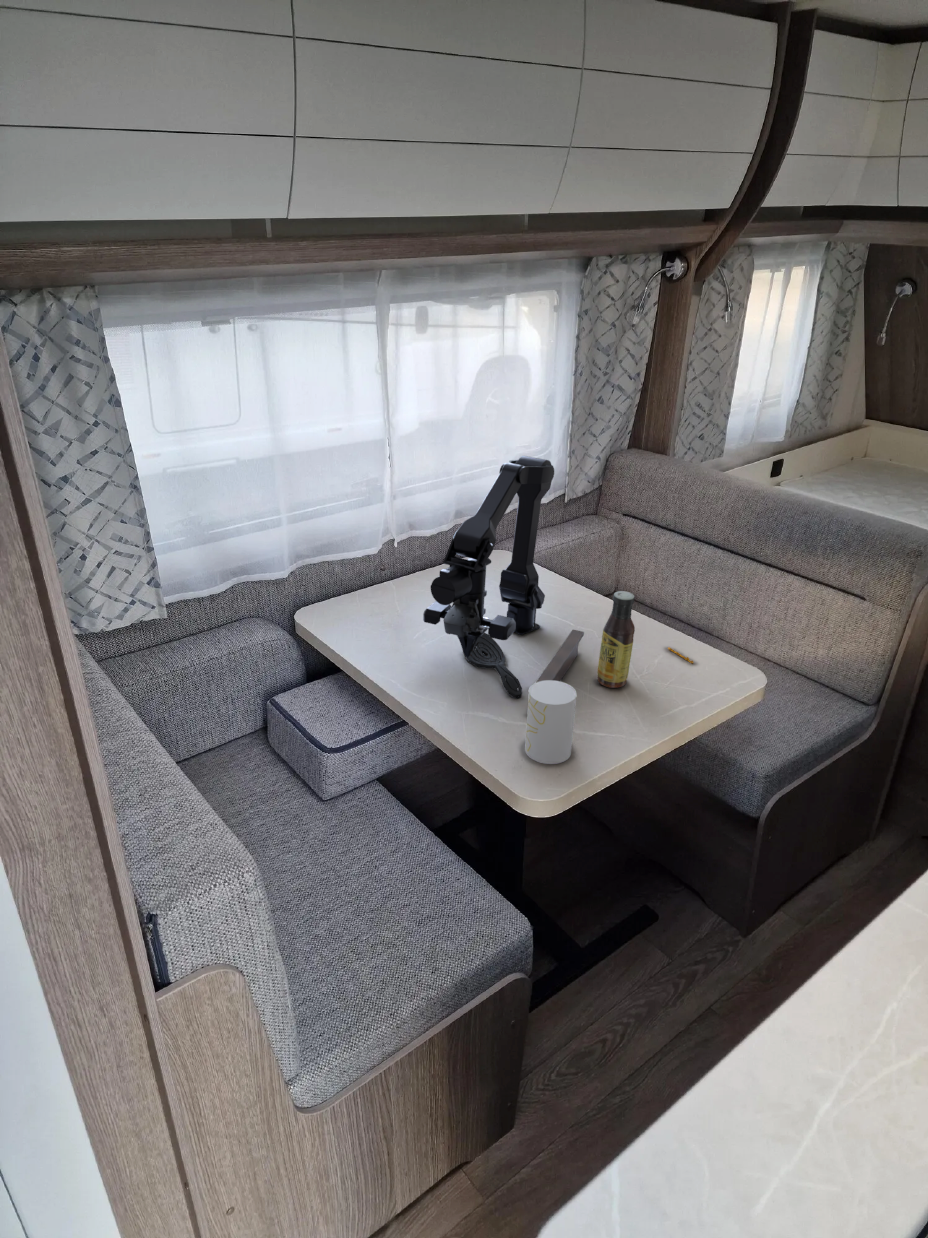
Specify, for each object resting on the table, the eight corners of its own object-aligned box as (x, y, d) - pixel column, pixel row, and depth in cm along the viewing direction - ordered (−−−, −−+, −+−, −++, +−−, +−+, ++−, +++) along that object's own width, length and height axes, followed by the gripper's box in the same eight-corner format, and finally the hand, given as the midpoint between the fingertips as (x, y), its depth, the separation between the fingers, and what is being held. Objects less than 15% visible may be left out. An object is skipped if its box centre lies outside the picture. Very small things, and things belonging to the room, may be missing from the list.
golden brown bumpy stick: (694, 664, 176) (695, 660, 175) (690, 665, 175) (691, 661, 175) (669, 649, 182) (669, 645, 181) (665, 650, 181) (666, 646, 181)
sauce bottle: (590, 677, 169) (599, 589, 160) (616, 672, 171) (627, 585, 162) (607, 692, 163) (617, 602, 155) (633, 687, 166) (645, 598, 157)
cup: (521, 738, 148) (525, 680, 143) (566, 737, 149) (571, 679, 144) (528, 764, 141) (532, 705, 136) (575, 763, 142) (581, 704, 136)
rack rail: (570, 653, 179) (572, 629, 176) (582, 655, 178) (584, 631, 175) (529, 715, 155) (530, 689, 153) (542, 718, 154) (544, 692, 152)
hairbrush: (499, 689, 158) (456, 629, 179) (498, 705, 160) (455, 643, 180) (538, 683, 161) (491, 624, 181) (536, 698, 163) (490, 638, 183)
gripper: (411, 593, 162) (410, 662, 169) (499, 613, 156) (494, 684, 162) (435, 575, 171) (433, 641, 178) (519, 592, 165) (513, 660, 172)
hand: (467, 656), depth 172 cm, fingers closed
